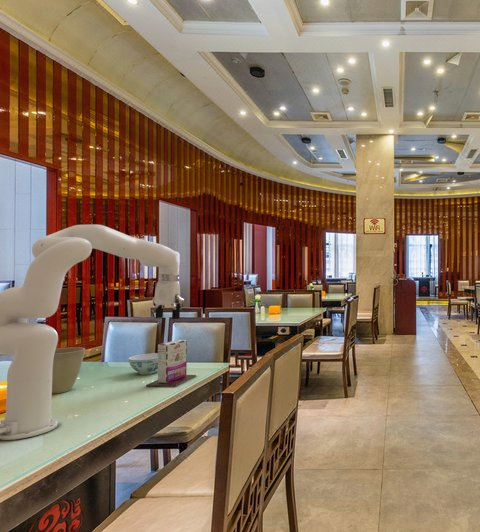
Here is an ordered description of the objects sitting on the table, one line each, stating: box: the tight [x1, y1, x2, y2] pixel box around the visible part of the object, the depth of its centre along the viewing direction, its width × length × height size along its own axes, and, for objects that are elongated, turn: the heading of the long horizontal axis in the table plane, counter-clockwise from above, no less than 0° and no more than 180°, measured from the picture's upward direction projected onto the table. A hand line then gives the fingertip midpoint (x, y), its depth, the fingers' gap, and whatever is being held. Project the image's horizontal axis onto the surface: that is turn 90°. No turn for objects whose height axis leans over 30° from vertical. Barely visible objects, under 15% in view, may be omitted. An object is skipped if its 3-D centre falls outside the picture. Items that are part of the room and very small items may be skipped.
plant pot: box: [52, 347, 86, 395], centre depth 147 cm, size 15×15×16 cm
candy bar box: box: [157, 339, 188, 383], centre depth 162 cm, size 11×5×16 cm, turn 168°
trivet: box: [145, 374, 197, 388], centre depth 162 cm, size 16×12×1 cm
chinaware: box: [128, 352, 158, 376], centre depth 176 cm, size 15×15×8 cm
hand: (167, 318), depth 162 cm, fingers open, 9 cm apart
